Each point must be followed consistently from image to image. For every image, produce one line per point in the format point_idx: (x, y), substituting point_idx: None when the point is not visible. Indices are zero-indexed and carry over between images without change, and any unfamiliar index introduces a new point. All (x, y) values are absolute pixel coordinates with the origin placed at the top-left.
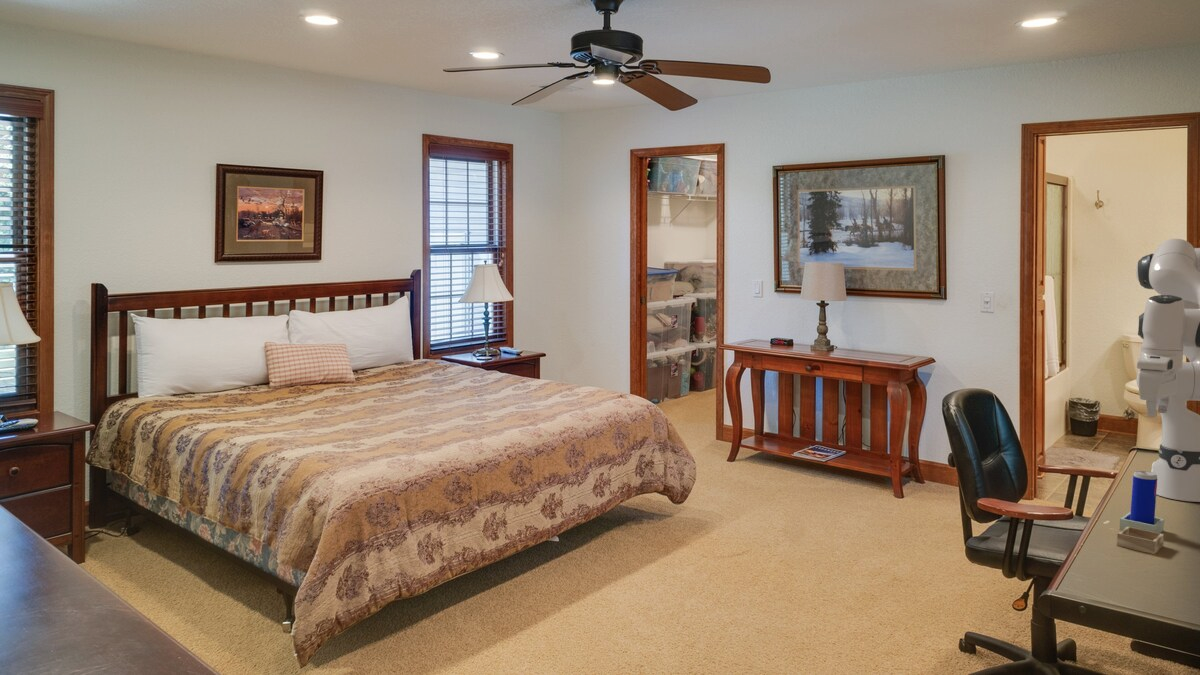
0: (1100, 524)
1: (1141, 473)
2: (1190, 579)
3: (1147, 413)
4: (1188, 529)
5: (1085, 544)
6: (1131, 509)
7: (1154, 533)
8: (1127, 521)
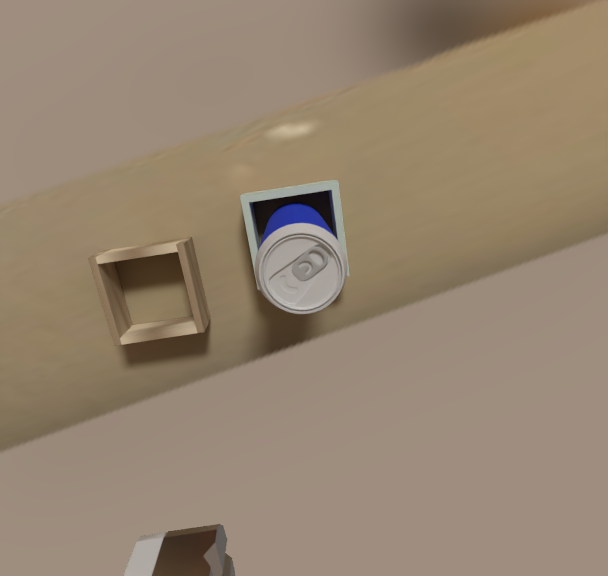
0: (250, 132)
1: (290, 261)
2: (40, 437)
3: (126, 568)
4: (410, 300)
5: (32, 195)
6: (274, 216)
7: (193, 312)
8: (244, 216)
